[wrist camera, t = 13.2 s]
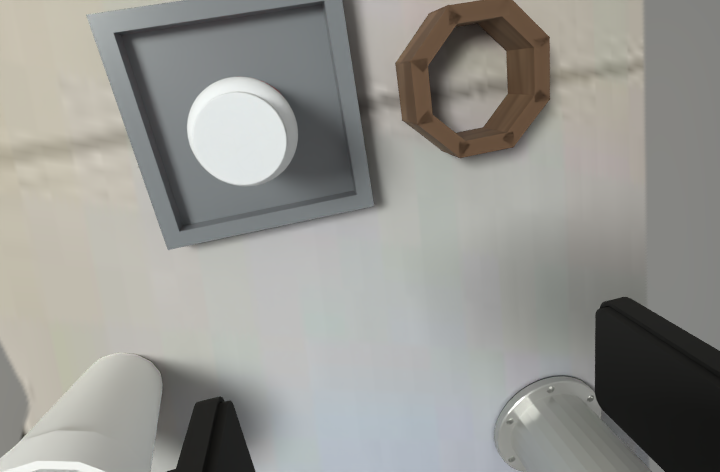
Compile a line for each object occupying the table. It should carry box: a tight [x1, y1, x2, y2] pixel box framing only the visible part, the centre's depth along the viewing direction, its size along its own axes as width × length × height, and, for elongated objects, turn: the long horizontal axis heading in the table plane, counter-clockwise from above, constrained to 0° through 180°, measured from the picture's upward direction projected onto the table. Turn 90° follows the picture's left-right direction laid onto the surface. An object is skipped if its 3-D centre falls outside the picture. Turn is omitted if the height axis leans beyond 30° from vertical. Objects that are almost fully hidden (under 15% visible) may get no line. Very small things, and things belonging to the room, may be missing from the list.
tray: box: [86, 0, 374, 250], centre depth 32 cm, size 16×16×2 cm
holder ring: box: [395, 0, 550, 158], centre depth 33 cm, size 10×10×4 cm
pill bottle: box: [187, 77, 298, 186], centre depth 27 cm, size 6×6×11 cm
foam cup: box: [0, 353, 163, 472], centre depth 32 cm, size 10×9×13 cm
